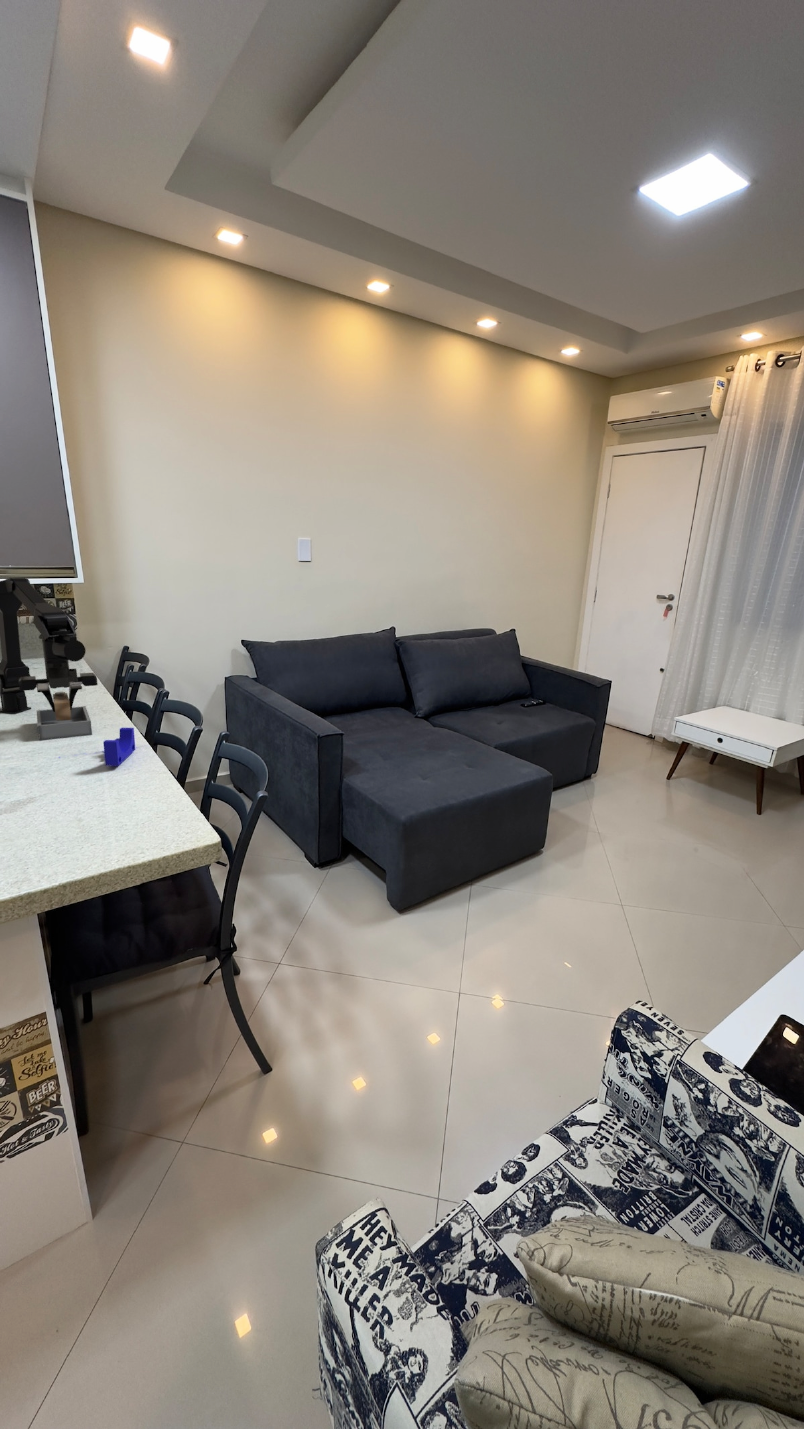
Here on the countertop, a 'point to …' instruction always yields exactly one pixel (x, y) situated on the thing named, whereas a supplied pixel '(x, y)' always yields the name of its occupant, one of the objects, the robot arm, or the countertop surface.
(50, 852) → the countertop surface
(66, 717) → the strut
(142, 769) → the countertop surface
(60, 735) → the bin
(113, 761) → the cable clip
